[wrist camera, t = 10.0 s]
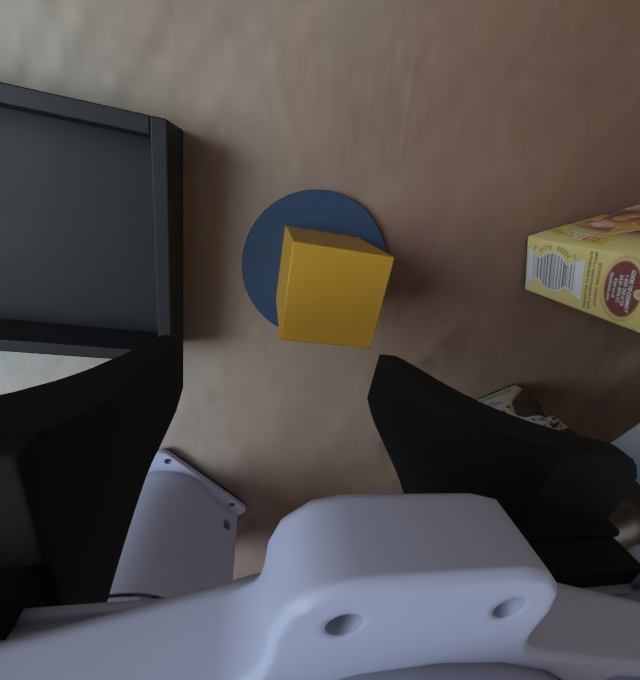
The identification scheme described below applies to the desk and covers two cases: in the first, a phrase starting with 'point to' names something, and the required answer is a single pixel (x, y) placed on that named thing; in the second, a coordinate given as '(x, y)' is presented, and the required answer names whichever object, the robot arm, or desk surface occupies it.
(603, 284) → the candy box
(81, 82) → the desk surface
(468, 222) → the desk surface
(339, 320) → the block
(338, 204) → the coaster
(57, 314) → the tray
